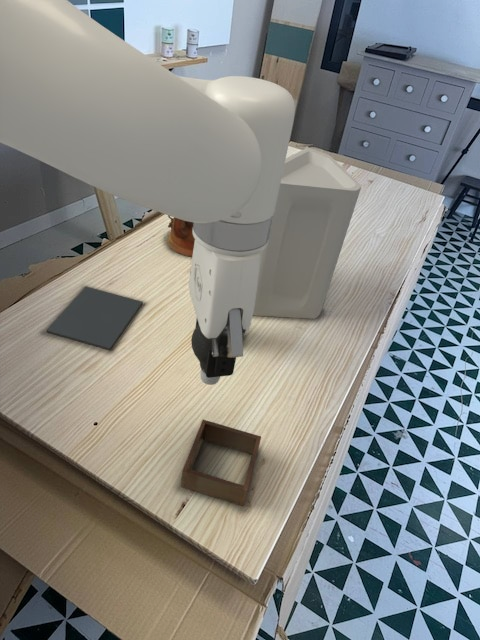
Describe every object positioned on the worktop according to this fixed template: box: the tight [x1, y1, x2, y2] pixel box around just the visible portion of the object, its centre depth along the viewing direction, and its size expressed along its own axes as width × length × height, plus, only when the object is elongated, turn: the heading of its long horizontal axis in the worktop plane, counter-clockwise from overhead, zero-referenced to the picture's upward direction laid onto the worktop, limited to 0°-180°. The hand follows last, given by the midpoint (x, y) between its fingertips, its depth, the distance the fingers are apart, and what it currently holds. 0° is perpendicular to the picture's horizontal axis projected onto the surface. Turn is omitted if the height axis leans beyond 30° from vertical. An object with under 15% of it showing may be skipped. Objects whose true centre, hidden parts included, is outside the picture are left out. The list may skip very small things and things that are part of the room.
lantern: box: [166, 215, 195, 258], centre depth 101 cm, size 17×13×30 cm
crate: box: [180, 419, 262, 507], centre depth 65 cm, size 9×9×4 cm
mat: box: [45, 286, 144, 351], centre depth 86 cm, size 14×12×1 cm
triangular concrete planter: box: [253, 147, 363, 320], centre depth 89 cm, size 19×15×28 cm
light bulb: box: [191, 324, 228, 386], centre depth 56 cm, size 6×6×10 cm
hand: (213, 354), depth 56 cm, fingers closed on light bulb, 5 cm apart
